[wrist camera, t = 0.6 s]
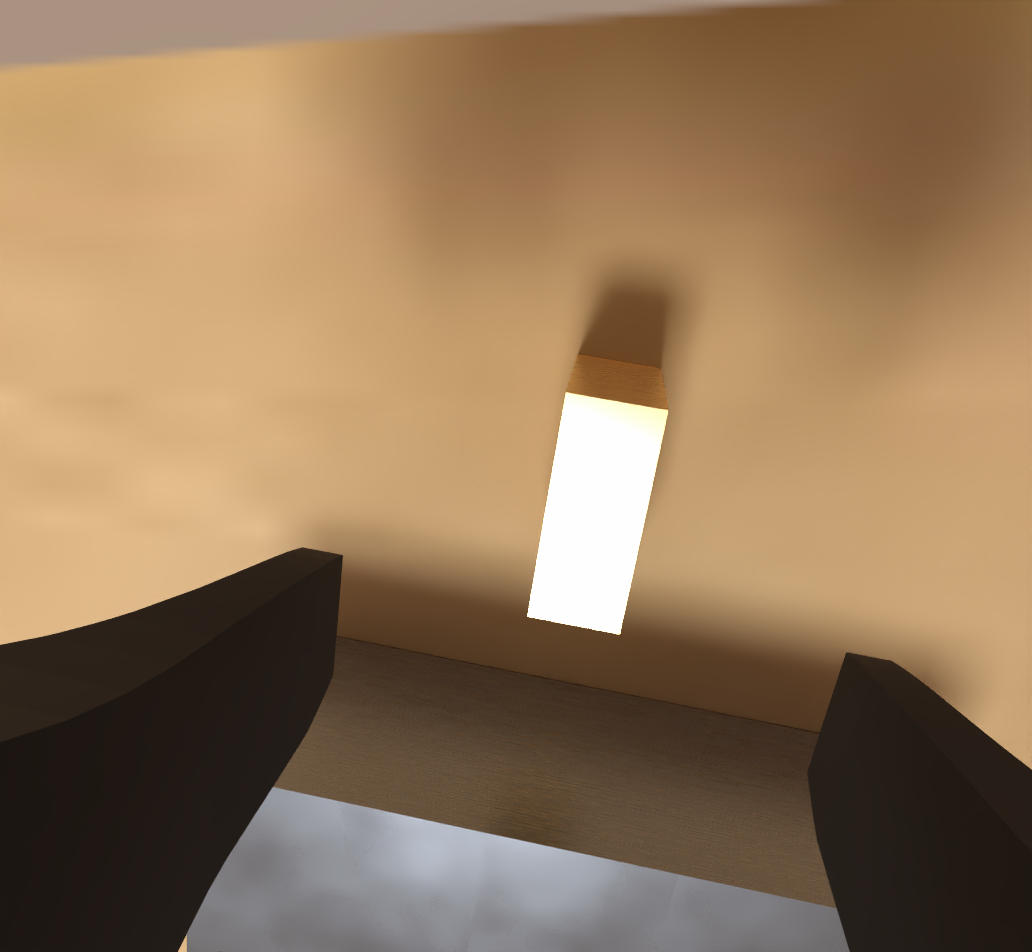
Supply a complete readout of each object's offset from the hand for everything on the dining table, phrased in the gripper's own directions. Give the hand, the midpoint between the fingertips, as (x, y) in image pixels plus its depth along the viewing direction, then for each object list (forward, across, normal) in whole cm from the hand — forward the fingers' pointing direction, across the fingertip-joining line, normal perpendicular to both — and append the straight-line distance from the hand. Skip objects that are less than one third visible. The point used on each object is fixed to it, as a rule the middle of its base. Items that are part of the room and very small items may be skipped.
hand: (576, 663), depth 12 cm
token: (+10, 0, 0) cm, 10 cm away
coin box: (+9, -1, +14) cm, 17 cm away
